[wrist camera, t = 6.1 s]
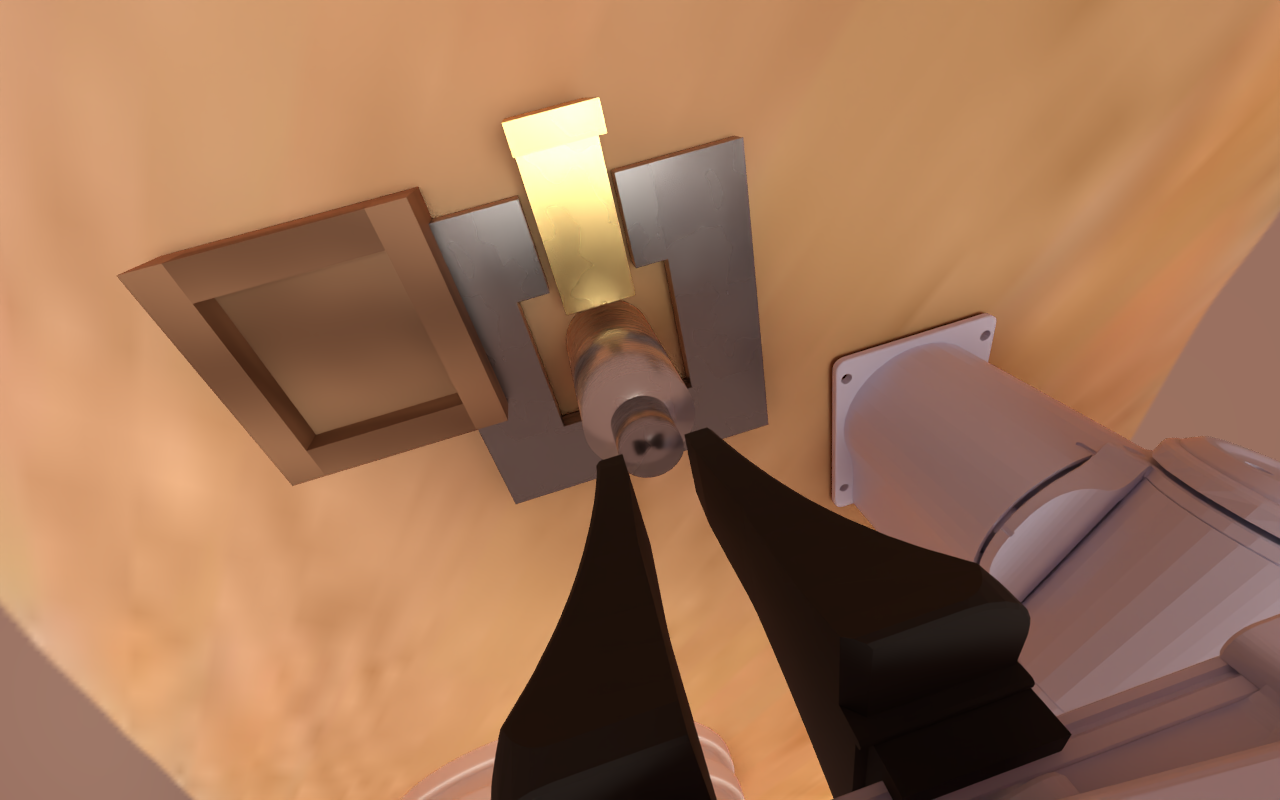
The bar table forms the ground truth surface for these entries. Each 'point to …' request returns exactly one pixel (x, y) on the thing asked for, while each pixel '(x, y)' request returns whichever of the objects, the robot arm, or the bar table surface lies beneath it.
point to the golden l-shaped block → (572, 200)
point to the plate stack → (464, 784)
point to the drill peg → (628, 389)
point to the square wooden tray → (329, 335)
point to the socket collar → (655, 230)
